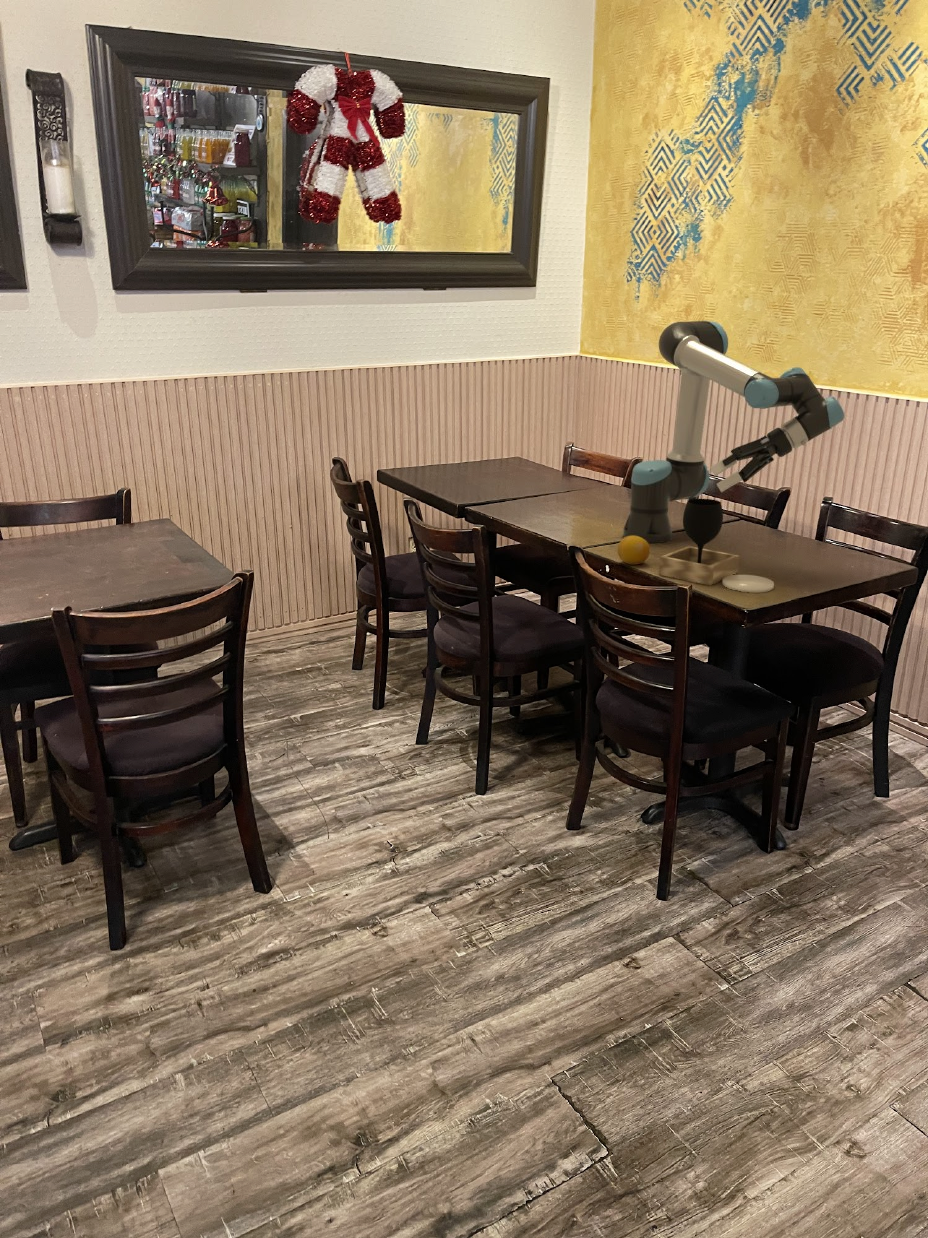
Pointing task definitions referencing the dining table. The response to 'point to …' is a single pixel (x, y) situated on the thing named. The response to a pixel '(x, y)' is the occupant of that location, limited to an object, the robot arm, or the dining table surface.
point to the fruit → (633, 550)
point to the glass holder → (698, 565)
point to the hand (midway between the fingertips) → (715, 480)
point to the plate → (748, 583)
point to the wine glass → (702, 521)
